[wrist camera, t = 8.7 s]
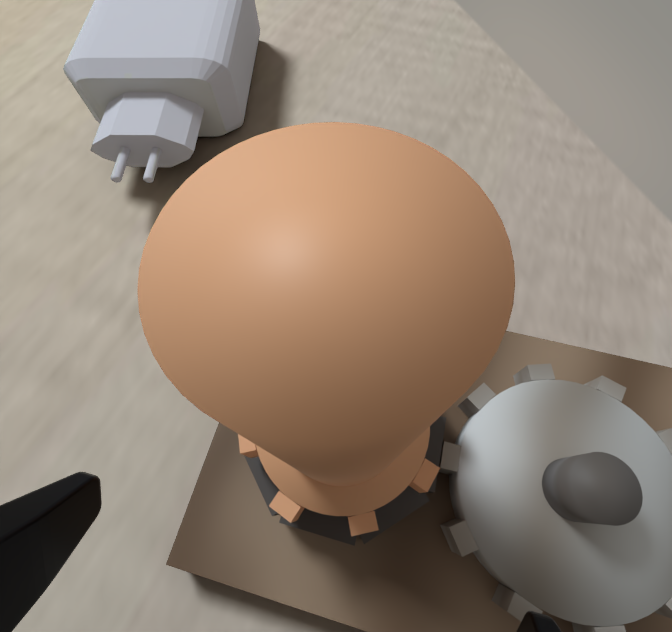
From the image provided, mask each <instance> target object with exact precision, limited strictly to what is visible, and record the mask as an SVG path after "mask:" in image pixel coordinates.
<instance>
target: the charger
mask: <svg viewBox="0 0 672 632" xmlns="http://www.w3.org/2000/svg"><path fill="white" fill-rule="evenodd" d="M259 35H260V27H259V21H258V16H257V11H256V6H255V1H254V0H95V1H94V3H93V5H92V7H91V10H90V12H89V14H88V16H87V18H86V20H85V22H84V25H83V27H82V29H81V31H80V33H79V35H78V37H77V40H76V42H75V44H74V46H73V48H72V50H71V52H70V55H69V57H68V59H67V61H66V63H65V65H64V68H63V69H64V72H65V74H66V76H67V77H68V79H69V80H70V82H71V83H72V85H73V86H74V88H75V89H76V91H77V92H78V94H79V95H80V97H81V98H82V100H83V101H84V103H85V104H86V106H87V107H88V109H89V110H90V112H91V113H92V115H93V116H94V118H95V119H96V120H97V121H98V122H99V123H100V126H99V128H98V131H97V134H96V136H95V139H94V141H93V144H92V147H91V151H92V152H94V153H95V154H97V155H99V156H101V157H102V158H105V159H108V160H111V161H114V162H116V163H115V166H114V169H113V172H112V175H111V180H112V181H114V182H120V181H121V180H122V177H123V174H124V170H125V167H126V165H127V166H131V167H146V170H145V173H144V177H143V180H144V181H145V182H148V183H151V182H153V181H154V177H155V174H156V170H157V167H173V166H175V165H177V164H179V163H182V162H184V161H186V160H188V159H190V157H191V156H192V154H193V152H194V149H195V145H196V141H197V137H198V136H209V137H214V136H222V135H224V134H226V133H228V132H231V131H233V130H235V129H237V128H239V127H241V126H242V124H243V122H244V116H245V111H246V106H247V100H248V95H249V89H250V84H251V78H252V73H253V68H254V62H255V57H256V51H257V46H258V40H259Z"/></svg>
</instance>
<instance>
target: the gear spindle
mask: <svg viewBox="0 0 672 632" xmlns="http://www.w3.org/2000/svg"><path fill="white" fill-rule="evenodd" d="M514 290H515V273H514V260H513V255H512V251H511V246H510V241H509V238H508V236H507V233H506V230H505V228H504V225H503V222H502V220H501V218H500V217H499V215H498V213H497V211H496V209H495V207H494V206H493V204H492V202H491V201H490V200H489V198H488V197H487V196H486V194H485V193H484V191H483V190H482V189H481V187H480V186H479V185H478V184H477V183H476V182H475V181H474V180H473V179H472V178H471V177H470V176H469V175H468V174H467V173H466V172H465V171H464V170H463V169H462V168H460V167H459V166H458V165H457V164H456V163H454V162H453V161H452V160H451V159H449V158H448V157H446V156H445V155H443V154H441V153H440V152H438V151H437V150H435V149H434V148H432V147H430V146H428V145H426V144H424V143H422V142H420V141H418V140H416V139H413V138H411V137H408V136H405V135H403V134H400V133H397V132H394V131H390V130H387V129H383V128H379V127H375V126H368V125H362V124H356V123H340V122H325V123H310V124H302V125H294V126H290V127H285V128H280V129H276V130H273V131H269V132H266V133H263V134H260V135H257V136H254V137H252V138H250V139H247V140H245V141H243V142H240V143H238V144H236V145H234V146H232V147H231V148H229V149H227V150H225V151H223V152H222V153H220V154H218V155H217V156H215V157H214V158H212V159H211V160H210V161H208V162H207V163H205V164H204V165H202V166H201V167H200V168H199V169H198V170H197V171H196V172H194V173H193V174H192V175H191V176H190V177H189V178H188V179H186V181H185V182H184V183H183V184H182V185H181V186H180V187H179V188H178V189H177V190H176V191H175V193H174V194H173V195H172V196H171V198H170V199H169V200H168V202H167V203H166V205H165V206H164V207H163V209H162V210H161V212H160V214H159V216H158V217H157V219H156V221H155V223H154V225H153V227H152V229H151V231H150V234H149V236H148V239H147V241H146V244H145V247H144V250H143V254H142V259H141V263H140V268H139V278H138V302H139V313H140V317H141V322H142V326H143V330H144V334H145V336H146V339H147V341H148V344H149V346H150V348H151V351H152V353H153V356H154V357H155V359H156V360H157V362H158V364H159V365H160V367H161V369H162V370H163V372H164V373H165V375H166V376H167V378H168V379H169V380H170V381H171V382H172V383H173V385H174V386H175V387H176V388H177V389H178V390H179V392H180V393H181V394H182V395H183V396H184V397H186V398H187V399H188V400H189V401H190V402H191V403H193V404H194V405H195V406H196V407H197V408H198V409H200V410H201V411H202V412H204V413H205V414H207V415H208V416H210V417H212V418H213V419H215V420H216V421H218V422H220V423H221V424H223V425H224V426H226V427H228V428H229V429H231V430H233V431H234V432H236V433H238V439H239V449H240V454H242V455H245V456H247V457H249V458H254V457H259V458H260V461H261V463H262V465H263V467H264V469H265V471H266V473H267V474H268V476H269V477H270V479H271V480H272V482H273V483H274V484H275V485H276V486H277V487H278V489H279V490H280V491H278V493H277V494H276V496H275V497H274V499H273V500H272V502H271V503H270V505H269V507H271V508H272V509H273V510H274V511H276V512H277V513H278V514H280V515H281V516H282V517H284V518H285V519H286V520H287V521H289V522H290V523H292V522H295V521H297V520H298V518H299V516H300V515H301V513H302V512H303V510H304V508H307V509H309V510H311V511H314V512H317V513H321V514H325V515H332V516H348V521H349V527H350V532H351V536H355V535H360V534H364V533H368V532H373V531H377V530H379V529H378V525H377V520H376V515H375V511H373V510H375V509H378V508H380V507H382V506H384V505H386V504H387V503H389V502H390V501H392V500H393V499H395V498H396V497H397V496H398V495H399V494H400V493H402V492H403V491H404V490H405V489H406V488H407V486H410V487H411V488H413V489H414V490H416V491H417V492H419V493H425V492H428V490H429V488H430V487H431V485H432V483H433V481H434V479H435V477H436V475H437V473H438V471H439V469H440V468H439V467H438V466H436V465H435V464H433V463H432V462H430V461H429V460H427V459H426V458H425V455H426V452H427V448H428V443H429V437H430V426H431V425H432V424H433V423H434V422H435V421H436V420H437V419H438V418H439V417H440V416H441V415H442V414H443V413H444V412H445V411H446V410H447V409H448V408H450V407H451V406H452V405H453V404H454V403H455V402H456V401H457V400H458V399H459V398H460V397H461V396H462V395H463V394H464V393H465V392H466V391H467V390H468V389H469V388H470V387H471V386H472V384H473V383H474V382H475V381H476V380H477V379H478V378H479V376H480V375H481V374H482V373H483V372H484V371H485V369H486V367H487V366H488V364H489V363H490V361H491V359H492V358H493V356H494V355H495V353H496V352H497V350H498V348H499V345H500V343H501V341H502V339H503V336H504V334H505V332H506V329H507V326H508V323H509V319H510V315H511V311H512V307H513V300H514ZM424 458H425V459H424Z"/></svg>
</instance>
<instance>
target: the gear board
mask: <svg viewBox="0 0 672 632" xmlns="http://www.w3.org/2000/svg"><path fill="white" fill-rule="evenodd" d="M425 458H426V459H427V460H429V461H430V462H432V463H433V464H435V465H436V466H438V467H439V468H440V469H439V471H438V473H437V475H436V477H435V479H434V481H433V483H432V485H431V487H430V488H429V490H428V492H425V493H419V492H417V491H416V490H414V489H413V488H411V487H410V486H407V488H406V489H405V490H404V491H403V492H402V493H400V494H399V495H398V496H397V497H396V498H395V499H393V500H392V501H390V502H389V503H387V504H386V505H384V506H382V507H380V508H378V509H375V510H373V511H375V515H376V520H377V525H378V529H379V530H377V531H373V532H368V533H364V534H360V535H355V536H351V532H350V527H349V521H348V516H332V515H325V514H321V513H317V512H314V511H311V510H309V509H307V508H304V510H303V512H302V513H301V515H300V516H299V518H298V520H297V521H295V522H292V523H290V522H289V521H287V520H286V519H285V518H284V517H282V516H281V515H280V514H278V513H277V512H276V511H274V510H273V509H272V508H271V507H269V505H270V503H271V502H272V500H273V499H274V497H275V496H276V494H277V493H278V491H280V490H279V489H278V487H277V486H276V485H275V484H274V483H273V482H272V480H271V479H270V477H269V476H268V474H267V473H266V471H265V469H264V467H263V465H262V463H261V461H260V458H259V457H254V458H249V457H247V456H245V455H242V454H240V449H239V439H238V433H236V432H234V431H233V430H231V429H229V428H228V427H226V426H224V425H223V424H221V423H220V422H219V424H218V427H217V429H216V432H215V435H214V437H213V440H212V443H211V446H210V448H209V451H208V454H207V456H206V459H205V462H204V464H203V467H202V470H201V472H200V475H199V478H198V480H197V483H196V486H195V488H194V491H193V494H192V496H191V499H190V502H189V504H188V507H187V510H186V512H185V515H184V518H183V520H182V523H181V526H180V528H179V531H178V534H177V536H176V539H175V542H174V544H173V547H172V550H171V552H170V555H169V558H168V560H167V563H166V565H169V566H172V567H175V568H178V569H181V570H184V571H187V572H190V573H193V574H196V575H199V576H202V577H205V578H208V579H211V580H214V581H217V582H220V583H222V584H225V585H228V586H231V587H234V588H237V589H240V590H243V591H246V592H249V593H252V594H255V595H258V596H261V597H264V598H267V599H270V600H273V601H276V602H279V603H282V604H285V605H288V606H291V607H294V608H297V609H300V610H303V611H306V612H309V613H312V614H315V615H318V616H321V617H324V618H327V619H330V620H333V621H336V622H339V623H342V624H345V625H348V626H351V627H354V628H357V629H360V630H363V631H366V632H516V631H517V629H518V627H519V625H520V623H521V621H522V619H523V617H524V615H525V614H526V612H528V611H534V612H538V613H541V614H544V615H547V616H549V617H551V618H552V619H553V620H554V621H555V622H556V624H557V625H558V627H559V628H560V630H561V631H562V632H672V368H670V367H665V366H661V365H657V364H652V363H648V362H643V361H639V360H634V359H630V358H625V357H621V356H616V355H612V354H607V353H603V352H598V351H594V350H589V349H585V348H581V347H576V346H572V345H567V344H563V343H558V342H554V341H549V340H545V339H540V338H536V337H531V336H527V335H522V334H518V333H513V332H509V331H506V332H505V334H504V336H503V339H502V341H501V343H500V345H499V348H498V350H497V352H496V353H495V355H494V356H493V358H492V359H491V361H490V363H489V364H488V366H487V367H486V369H485V371H484V372H483V373H482V374H481V375H480V376H479V378H478V379H477V380H476V381H475V382H474V383H473V384H472V386H471V387H470V388H469V389H468V390H467V391H466V392H465V393H464V394H463V395H462V396H461V397H460V398H459V399H458V400H457V401H456V402H455V403H454V404H453V405H452V406H451V407H450V408H448V409H447V410H446V411H445V412H444V413H443V414H442V415H441V416H440V417H439V418H438V419H437V420H436V421H435V422H434V423H433V424H432V425H431V426H430V437H429V443H428V448H427V452H426V455H425ZM425 458H424V459H425Z"/></svg>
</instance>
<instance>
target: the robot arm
mask: <svg viewBox="0 0 672 632" xmlns="http://www.w3.org/2000/svg"><path fill="white" fill-rule="evenodd" d="M100 509H101V486H100V479H99V478H98V476H95V475H92V474H89V473H86V472H78V473H75V474H73V475H70V476H68V477H66V478H63V479H61V480H59V481H56V482H54V483H52V484H49V485H47V486H45V487H42V488H40V489H38V490H35V491H33V492H31V493H28V494H26V495H24V496H21V497H19V498H17V499H14V500H12V501H10V502H7V503H5V504H3V505H0V632H12V631H13V629H14V628H15V627H16V626H17V624H18V623H19V622H20V621H21V620H22V618H23V617H24V616H25V615H26V614H27V612H28V611H29V610H30V609H31V607H32V606H33V605H34V604H35V603H36V601H37V600H38V599H39V598H40V596H41V595H42V594H43V593H44V591H45V590H46V589H47V587H48V586H49V585H50V583H51V582H52V581H53V579H54V578H55V577H56V575H57V574H58V572H59V571H60V569H61V568H62V566H63V565H64V564H65V562H66V561H67V559H68V558H69V556H70V555H71V553H72V552H73V551H74V549H75V548H76V546H77V545H78V543H79V542H80V540H81V539H82V537H83V536H84V535H85V533H86V532H87V530H88V529H89V527H90V526H91V524H92V523H93V522H94V520H95V519H96V517H97V516H98V514H99V512H100ZM516 632H562V631H561V630H560V628H559V627H558V625H557V624H556V622H555V621H554V620H553V619H552V618H551V617H549V616H547V615H544V614H541V613H538V612H534V611H528V612H526V614H525V615H524V617H523V619H522V621H521V623H520V625H519V627H518V629H517V631H516Z"/></svg>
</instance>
